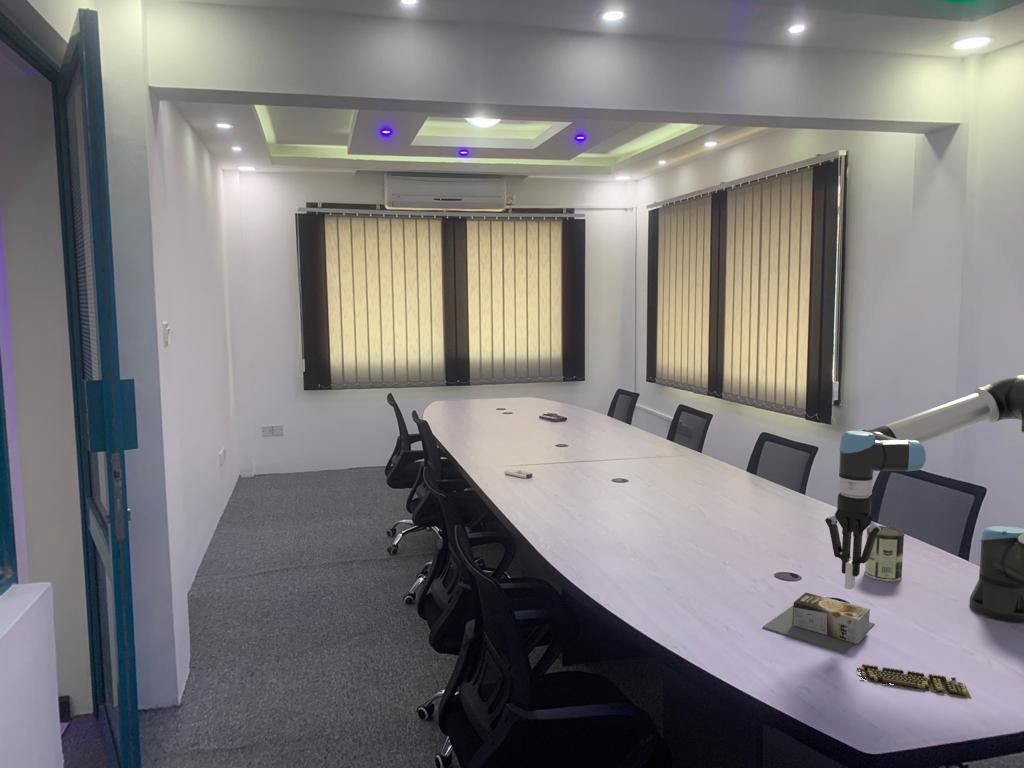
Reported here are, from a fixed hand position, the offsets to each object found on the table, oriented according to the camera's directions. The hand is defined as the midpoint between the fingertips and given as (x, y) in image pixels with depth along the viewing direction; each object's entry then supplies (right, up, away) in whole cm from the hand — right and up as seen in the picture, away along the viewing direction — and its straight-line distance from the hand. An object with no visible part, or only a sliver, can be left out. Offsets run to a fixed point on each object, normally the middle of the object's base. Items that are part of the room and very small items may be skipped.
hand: (849, 587), depth 183 cm
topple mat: (-5, -12, +6) cm, 14 cm away
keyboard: (+4, -16, -21) cm, 26 cm away
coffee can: (+29, -8, +42) cm, 52 cm away
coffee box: (+3, -9, -2) cm, 10 cm away
